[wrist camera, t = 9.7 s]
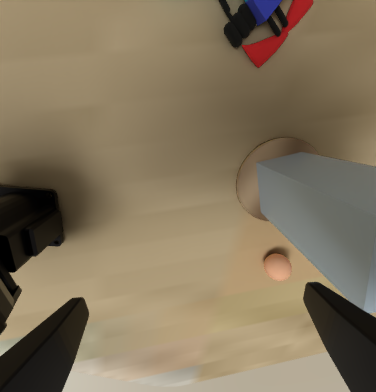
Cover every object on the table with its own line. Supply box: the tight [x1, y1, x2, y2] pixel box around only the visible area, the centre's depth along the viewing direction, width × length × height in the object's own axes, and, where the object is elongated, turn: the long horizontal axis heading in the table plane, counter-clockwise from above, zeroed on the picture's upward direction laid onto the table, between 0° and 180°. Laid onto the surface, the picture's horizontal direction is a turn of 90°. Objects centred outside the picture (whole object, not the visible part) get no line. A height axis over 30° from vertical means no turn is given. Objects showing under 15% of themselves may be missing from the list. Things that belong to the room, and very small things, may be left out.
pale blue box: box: [256, 152, 376, 313], centre depth 14 cm, size 5×6×12 cm
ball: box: [264, 254, 292, 281], centre depth 22 cm, size 3×3×3 cm
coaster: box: [236, 138, 319, 221], centre depth 20 cm, size 9×9×1 cm
